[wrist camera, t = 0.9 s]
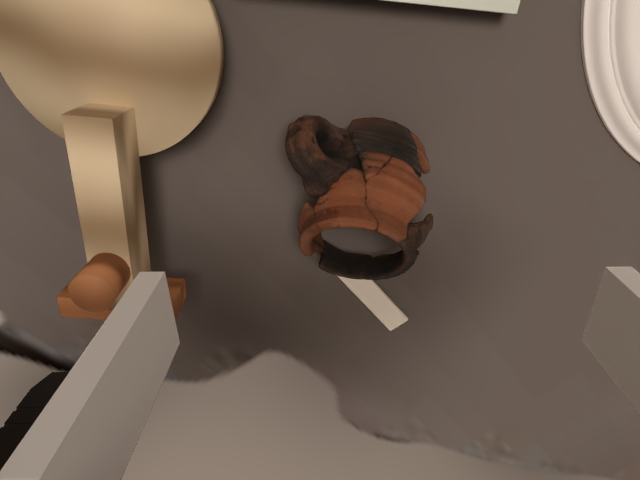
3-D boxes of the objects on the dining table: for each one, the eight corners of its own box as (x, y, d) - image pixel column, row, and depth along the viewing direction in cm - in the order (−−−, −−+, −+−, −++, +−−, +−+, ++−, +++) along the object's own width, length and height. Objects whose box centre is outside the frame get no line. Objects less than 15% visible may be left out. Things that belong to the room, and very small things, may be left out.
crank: (-26, -102, 22) (-163, -145, 15) (222, -75, 22) (186, -106, 16) (57, 275, 32) (-6, 340, 26) (226, 287, 32) (204, 354, 26)
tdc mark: (329, 266, 34) (329, 268, 34) (348, 253, 34) (348, 255, 34) (389, 328, 37) (390, 331, 37) (407, 317, 37) (408, 320, 36)
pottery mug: (460, 167, 31) (461, 269, 27) (357, 210, 37) (345, 298, 33) (350, 44, 25) (328, 151, 20) (247, 120, 31) (213, 215, 26)
